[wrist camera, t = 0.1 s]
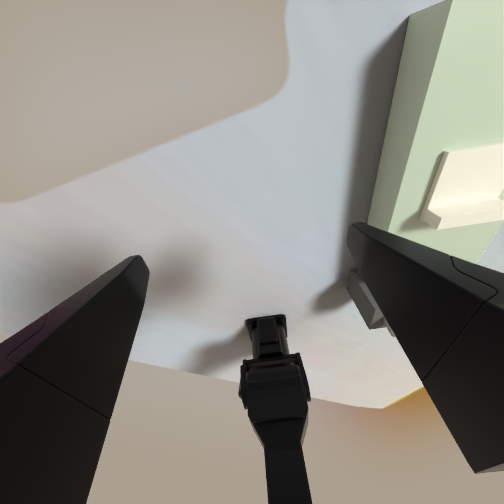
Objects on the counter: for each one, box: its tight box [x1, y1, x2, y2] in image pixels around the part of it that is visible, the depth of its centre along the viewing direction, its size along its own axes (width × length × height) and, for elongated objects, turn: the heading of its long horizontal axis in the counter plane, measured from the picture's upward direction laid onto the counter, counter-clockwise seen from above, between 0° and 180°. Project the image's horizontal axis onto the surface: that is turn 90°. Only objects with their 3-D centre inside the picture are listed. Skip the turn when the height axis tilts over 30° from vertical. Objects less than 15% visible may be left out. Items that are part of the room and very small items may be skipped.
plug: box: [347, 269, 396, 337], centre depth 29 cm, size 4×4×9 cm
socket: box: [367, 0, 504, 264], centre depth 21 cm, size 24×12×4 cm, turn 8°
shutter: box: [419, 141, 504, 230], centre depth 19 cm, size 6×6×2 cm
